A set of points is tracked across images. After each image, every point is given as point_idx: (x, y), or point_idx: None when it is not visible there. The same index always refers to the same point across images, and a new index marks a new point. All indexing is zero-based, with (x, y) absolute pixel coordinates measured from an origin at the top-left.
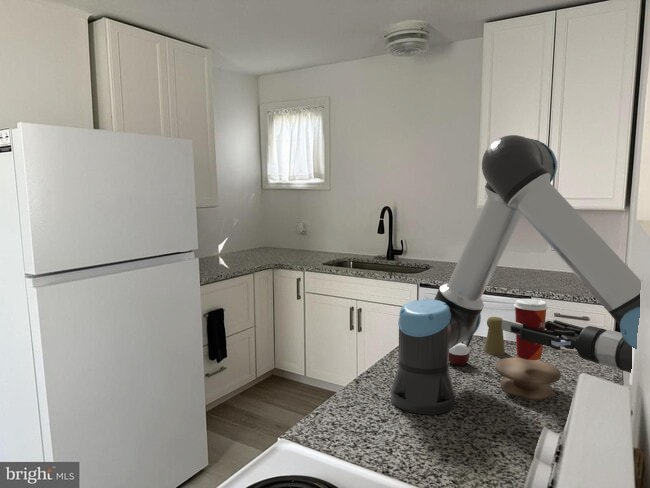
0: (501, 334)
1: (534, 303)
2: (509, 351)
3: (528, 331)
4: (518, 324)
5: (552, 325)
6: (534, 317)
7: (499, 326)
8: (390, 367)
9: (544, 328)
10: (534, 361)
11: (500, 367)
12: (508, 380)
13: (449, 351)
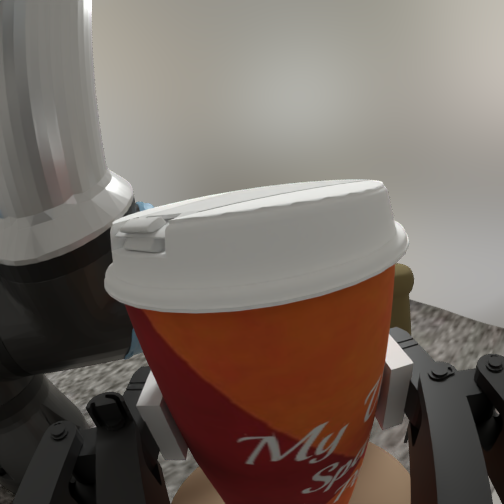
0: (400, 311)
1: (188, 209)
2: (424, 345)
3: (26, 473)
4: (150, 377)
5: (425, 439)
6: (168, 376)
7: (393, 291)
8: (132, 357)
9: (399, 411)
10: (378, 470)
11: (203, 477)
12: None
13: None
